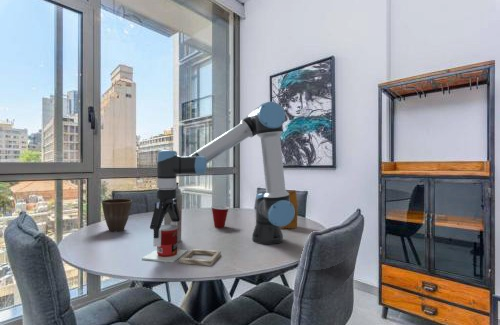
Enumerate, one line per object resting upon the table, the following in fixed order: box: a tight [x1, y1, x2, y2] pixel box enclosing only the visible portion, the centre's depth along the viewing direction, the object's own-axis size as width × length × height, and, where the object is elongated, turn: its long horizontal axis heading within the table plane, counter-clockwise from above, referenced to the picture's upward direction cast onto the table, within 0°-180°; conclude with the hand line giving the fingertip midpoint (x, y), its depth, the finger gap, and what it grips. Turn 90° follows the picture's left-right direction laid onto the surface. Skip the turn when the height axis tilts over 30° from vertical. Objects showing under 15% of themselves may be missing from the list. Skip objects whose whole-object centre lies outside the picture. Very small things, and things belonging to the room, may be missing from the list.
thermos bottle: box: [163, 182, 183, 243], centre depth 135 cm, size 8×8×28 cm
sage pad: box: [141, 249, 188, 263], centre depth 114 cm, size 13×13×1 cm
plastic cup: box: [210, 205, 230, 229], centre depth 165 cm, size 11×11×12 cm
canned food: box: [156, 224, 179, 257], centre depth 113 cm, size 8×8×11 cm
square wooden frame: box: [178, 248, 222, 267], centre depth 111 cm, size 12×12×2 cm
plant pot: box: [101, 198, 133, 232], centre depth 154 cm, size 15×15×16 cm
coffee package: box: [280, 189, 298, 230], centre depth 167 cm, size 10×12×22 cm
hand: (165, 241), depth 114 cm, fingers open, 13 cm apart
